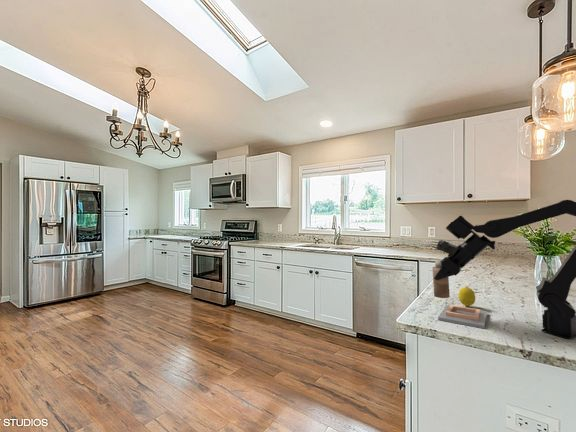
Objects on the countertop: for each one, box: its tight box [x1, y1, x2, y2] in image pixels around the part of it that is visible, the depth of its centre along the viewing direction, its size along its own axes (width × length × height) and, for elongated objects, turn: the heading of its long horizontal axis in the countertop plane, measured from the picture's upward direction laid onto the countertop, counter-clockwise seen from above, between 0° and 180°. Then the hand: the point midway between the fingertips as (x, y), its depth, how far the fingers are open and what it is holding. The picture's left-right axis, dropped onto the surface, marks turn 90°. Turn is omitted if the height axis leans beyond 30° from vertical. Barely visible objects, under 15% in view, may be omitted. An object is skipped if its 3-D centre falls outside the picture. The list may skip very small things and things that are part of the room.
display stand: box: [437, 304, 488, 329], centre depth 97 cm, size 13×16×2 cm
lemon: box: [458, 286, 476, 308], centre depth 108 cm, size 6×6×8 cm
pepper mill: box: [432, 259, 451, 299], centre depth 102 cm, size 5×5×13 cm
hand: (436, 277), depth 103 cm, fingers closed on pepper mill, 5 cm apart
